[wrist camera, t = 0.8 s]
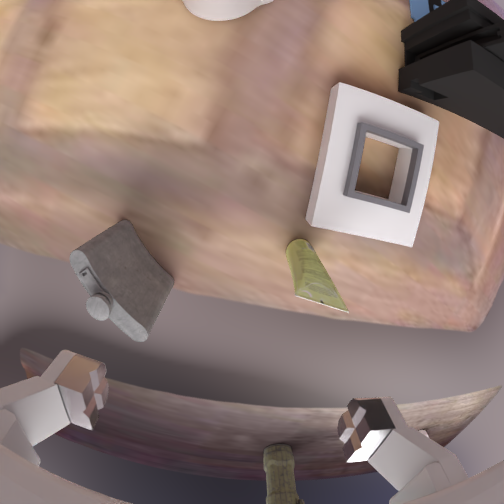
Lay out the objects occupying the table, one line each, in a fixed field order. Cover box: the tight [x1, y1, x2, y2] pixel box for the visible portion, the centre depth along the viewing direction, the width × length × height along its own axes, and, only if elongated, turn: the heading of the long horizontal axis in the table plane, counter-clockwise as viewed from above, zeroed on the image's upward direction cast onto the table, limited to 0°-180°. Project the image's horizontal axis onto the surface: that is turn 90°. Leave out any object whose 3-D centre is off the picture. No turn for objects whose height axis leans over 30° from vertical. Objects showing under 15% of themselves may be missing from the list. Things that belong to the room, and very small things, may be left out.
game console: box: [398, 0, 504, 138], centre depth 26 cm, size 35×30×27 cm
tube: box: [286, 239, 349, 312], centre depth 43 cm, size 6×5×20 cm
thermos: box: [263, 444, 305, 504], centre depth 57 cm, size 9×12×35 cm
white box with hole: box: [305, 82, 439, 247], centre depth 44 cm, size 24×20×7 cm
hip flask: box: [70, 220, 174, 342], centre depth 43 cm, size 16×4×20 cm, turn 34°
